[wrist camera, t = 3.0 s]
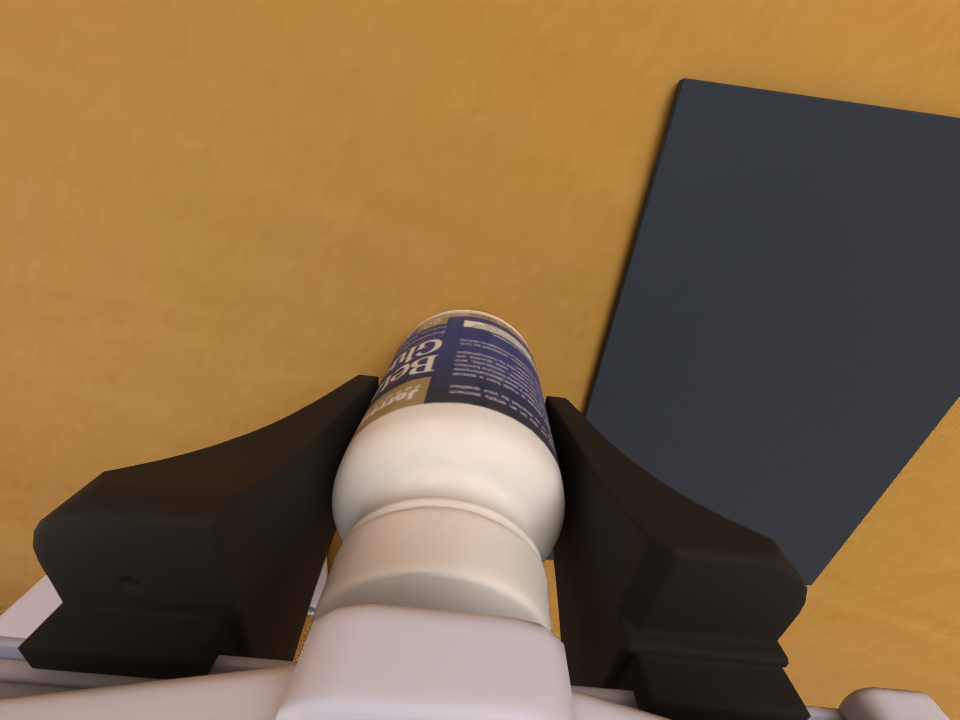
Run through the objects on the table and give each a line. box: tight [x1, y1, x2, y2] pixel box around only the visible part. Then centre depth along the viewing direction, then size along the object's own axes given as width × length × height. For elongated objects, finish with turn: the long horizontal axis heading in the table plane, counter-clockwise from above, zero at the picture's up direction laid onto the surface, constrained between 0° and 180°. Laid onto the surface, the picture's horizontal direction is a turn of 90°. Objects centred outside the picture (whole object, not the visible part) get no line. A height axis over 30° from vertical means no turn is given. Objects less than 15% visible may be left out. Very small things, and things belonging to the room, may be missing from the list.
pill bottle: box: [312, 310, 565, 633], centre depth 11 cm, size 5×5×10 cm
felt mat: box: [546, 78, 960, 585], centre depth 15 cm, size 14×20×1 cm
